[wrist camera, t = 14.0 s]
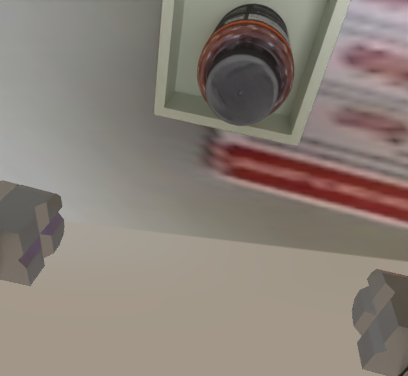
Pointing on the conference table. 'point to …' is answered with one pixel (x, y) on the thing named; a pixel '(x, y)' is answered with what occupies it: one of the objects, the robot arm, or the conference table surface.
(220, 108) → the supplement bottle
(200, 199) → the conference table surface
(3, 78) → the conference table surface
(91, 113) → the conference table surface
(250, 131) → the tray
